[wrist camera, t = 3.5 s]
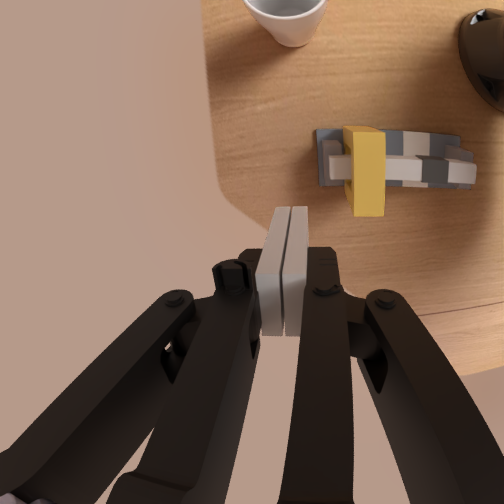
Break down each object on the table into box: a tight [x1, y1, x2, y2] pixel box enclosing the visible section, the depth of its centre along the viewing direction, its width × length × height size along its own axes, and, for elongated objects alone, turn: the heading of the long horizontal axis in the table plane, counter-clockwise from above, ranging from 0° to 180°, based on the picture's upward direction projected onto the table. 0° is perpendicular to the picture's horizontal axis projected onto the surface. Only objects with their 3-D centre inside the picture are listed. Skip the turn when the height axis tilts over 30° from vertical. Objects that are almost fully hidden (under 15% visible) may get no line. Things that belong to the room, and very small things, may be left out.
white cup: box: [243, 0, 328, 47], centre depth 21 cm, size 7×7×15 cm
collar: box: [343, 126, 386, 216], centre depth 29 cm, size 8×3×8 cm, turn 6°
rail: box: [316, 129, 477, 190], centre depth 30 cm, size 7×19×7 cm, turn 96°
